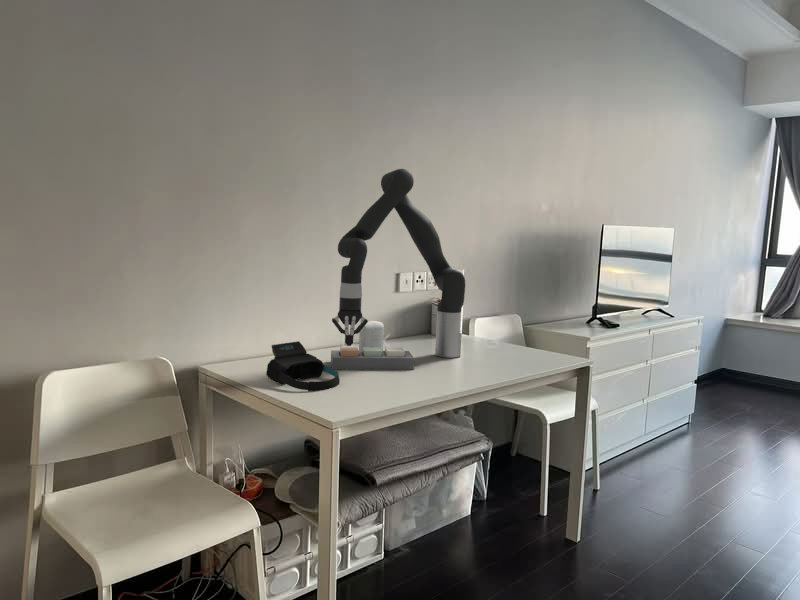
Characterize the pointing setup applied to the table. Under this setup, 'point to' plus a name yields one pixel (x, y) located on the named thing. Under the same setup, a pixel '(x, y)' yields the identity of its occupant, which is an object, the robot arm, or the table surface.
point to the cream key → (394, 352)
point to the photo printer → (371, 335)
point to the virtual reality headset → (299, 368)
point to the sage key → (372, 351)
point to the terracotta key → (349, 351)
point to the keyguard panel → (372, 361)
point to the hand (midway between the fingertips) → (348, 345)
